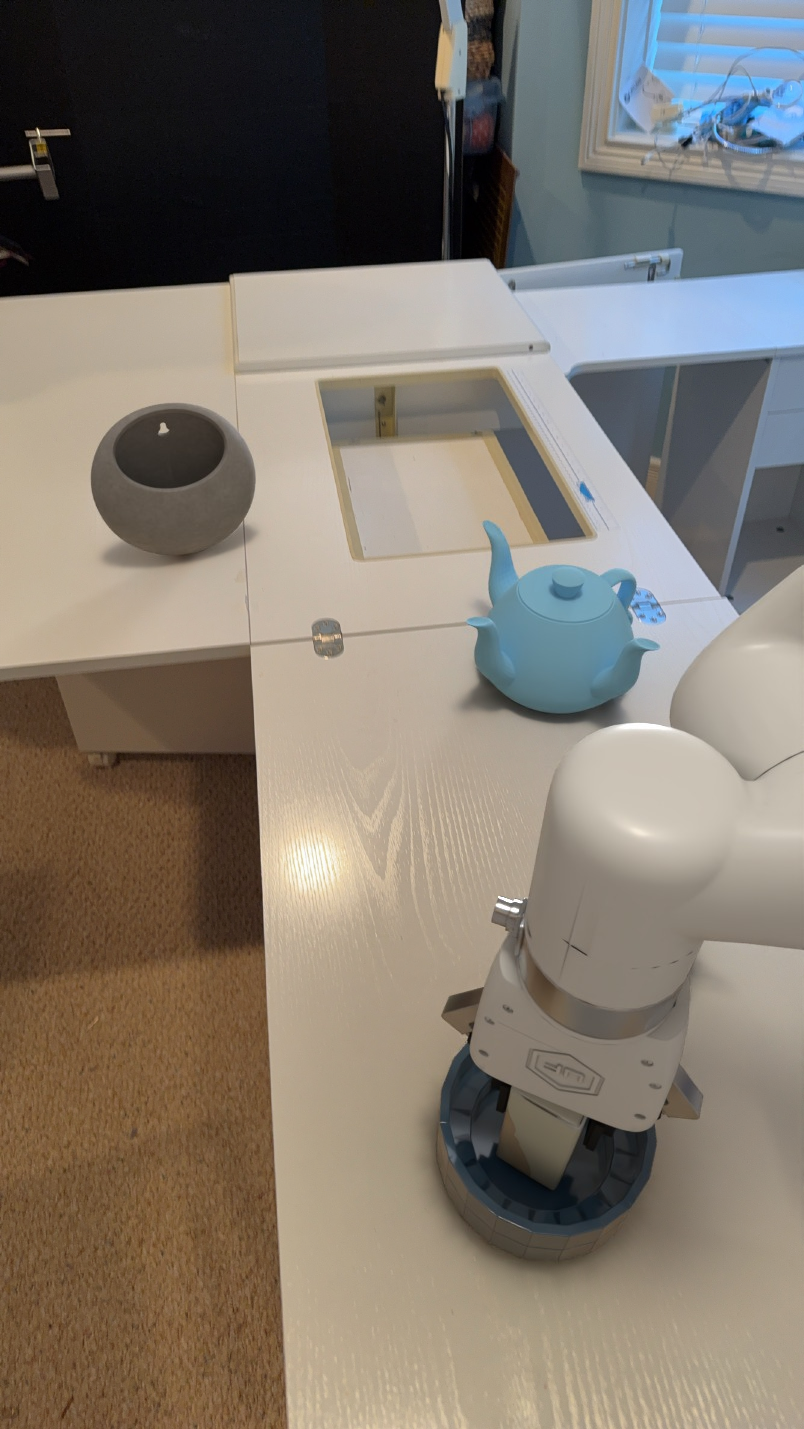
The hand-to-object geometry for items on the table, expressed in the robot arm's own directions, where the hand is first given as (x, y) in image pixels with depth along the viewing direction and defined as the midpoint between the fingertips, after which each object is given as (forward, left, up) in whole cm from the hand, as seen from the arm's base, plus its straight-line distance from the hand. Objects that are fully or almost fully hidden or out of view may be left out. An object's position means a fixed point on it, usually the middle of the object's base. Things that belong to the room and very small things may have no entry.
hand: (551, 1106), depth 53 cm
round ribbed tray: (0, 0, -7) cm, 7 cm away
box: (0, 0, -6) cm, 6 cm away
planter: (+59, -50, -8) cm, 78 cm away
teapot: (+13, -46, -8) cm, 48 cm away
